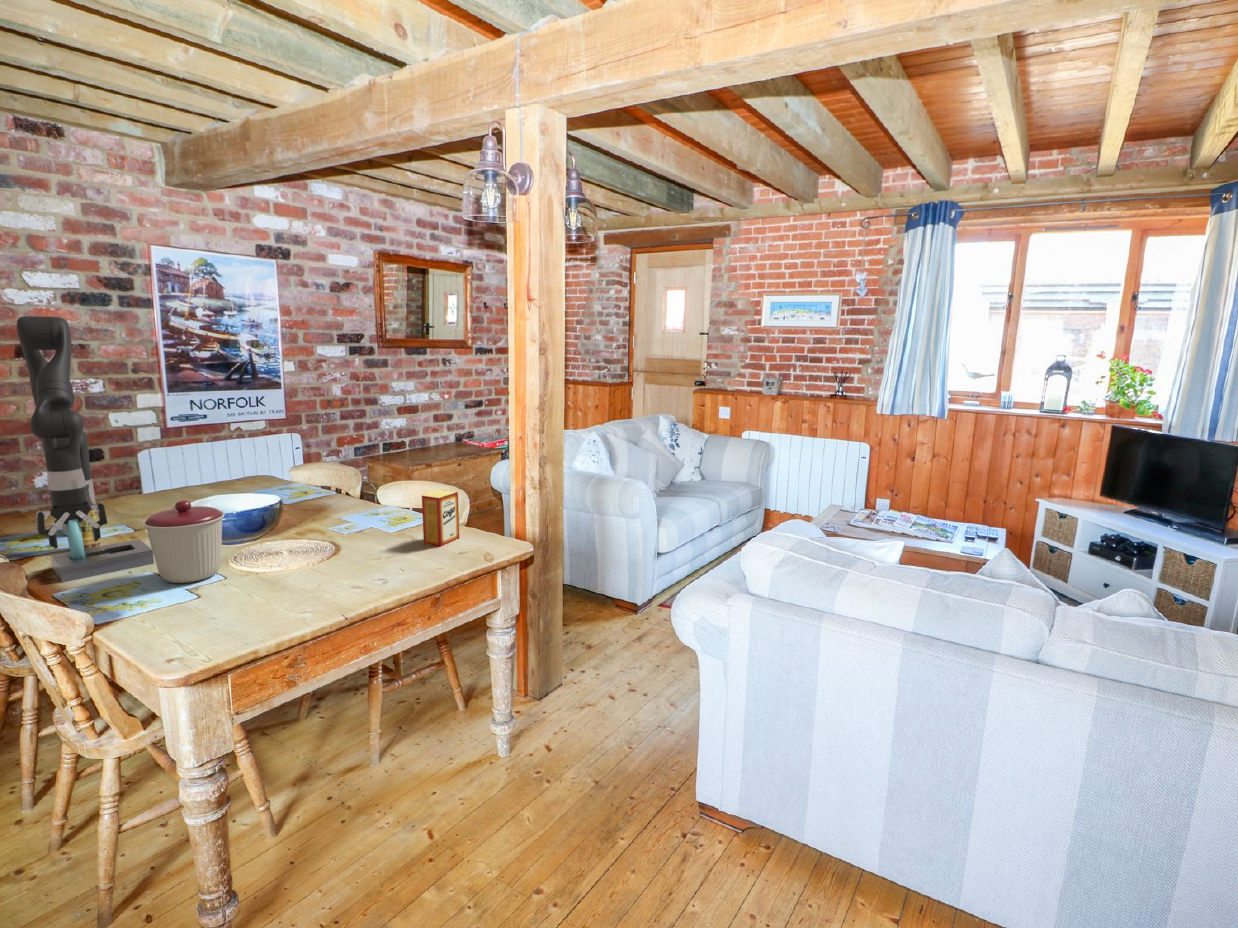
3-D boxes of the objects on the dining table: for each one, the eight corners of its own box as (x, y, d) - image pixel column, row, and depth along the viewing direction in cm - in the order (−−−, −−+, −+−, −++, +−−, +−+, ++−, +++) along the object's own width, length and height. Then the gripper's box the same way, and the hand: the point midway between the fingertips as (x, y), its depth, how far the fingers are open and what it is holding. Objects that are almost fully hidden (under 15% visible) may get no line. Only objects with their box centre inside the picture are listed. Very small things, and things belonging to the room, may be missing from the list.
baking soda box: (443, 535, 212) (441, 488, 209) (459, 538, 210) (457, 490, 206) (423, 543, 204) (421, 494, 200) (440, 546, 201) (438, 497, 198)
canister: (173, 594, 161) (163, 513, 157) (136, 580, 170) (125, 503, 166) (244, 572, 177) (237, 498, 172) (207, 560, 185) (199, 489, 181)
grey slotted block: (53, 568, 177) (50, 555, 176) (141, 551, 192) (139, 539, 191) (62, 582, 168) (60, 567, 167) (154, 563, 182) (152, 549, 182)
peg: (67, 571, 176) (59, 518, 173) (89, 566, 179) (81, 515, 176) (71, 575, 173) (62, 522, 170) (92, 570, 176) (84, 518, 173)
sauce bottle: (85, 552, 190) (75, 487, 186) (68, 550, 191) (58, 485, 188) (106, 545, 196) (97, 482, 193) (90, 544, 198) (80, 481, 194)
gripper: (97, 479, 179) (105, 535, 182) (29, 488, 168) (39, 547, 171) (103, 484, 174) (112, 541, 177) (33, 492, 164) (43, 553, 167)
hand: (76, 544), depth 174 cm, fingers open, 8 cm apart
